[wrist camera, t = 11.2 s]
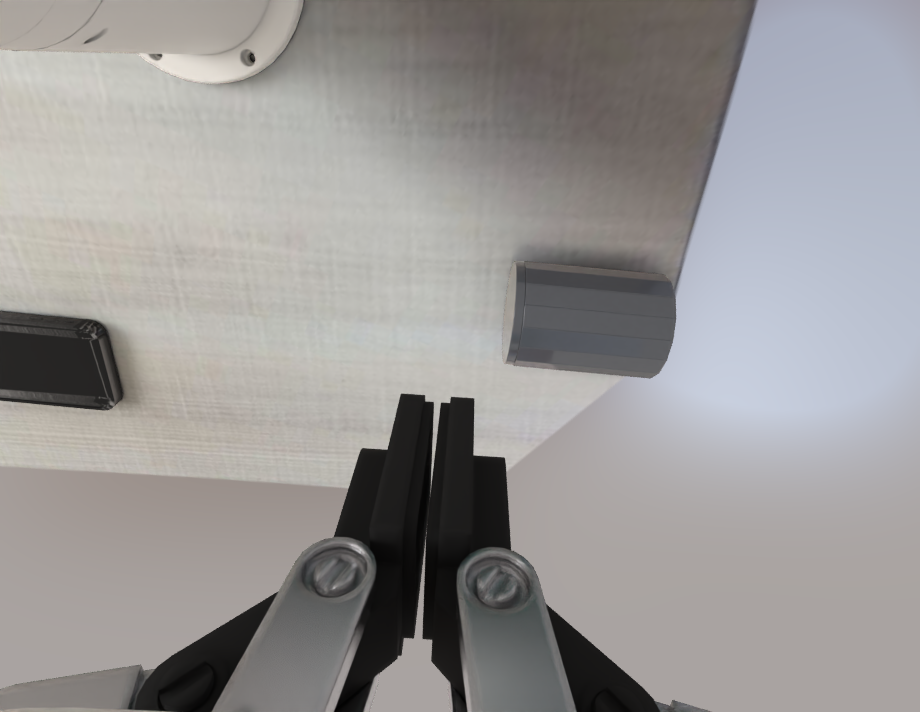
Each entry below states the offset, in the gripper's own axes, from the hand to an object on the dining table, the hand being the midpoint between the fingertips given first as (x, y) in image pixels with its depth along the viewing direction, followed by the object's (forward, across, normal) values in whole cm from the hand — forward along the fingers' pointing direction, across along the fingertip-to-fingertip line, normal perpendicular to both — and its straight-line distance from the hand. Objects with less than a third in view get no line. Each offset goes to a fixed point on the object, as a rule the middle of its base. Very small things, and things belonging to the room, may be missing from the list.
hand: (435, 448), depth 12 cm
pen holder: (+24, -4, +7) cm, 25 cm away
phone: (+27, +35, +15) cm, 47 cm away
